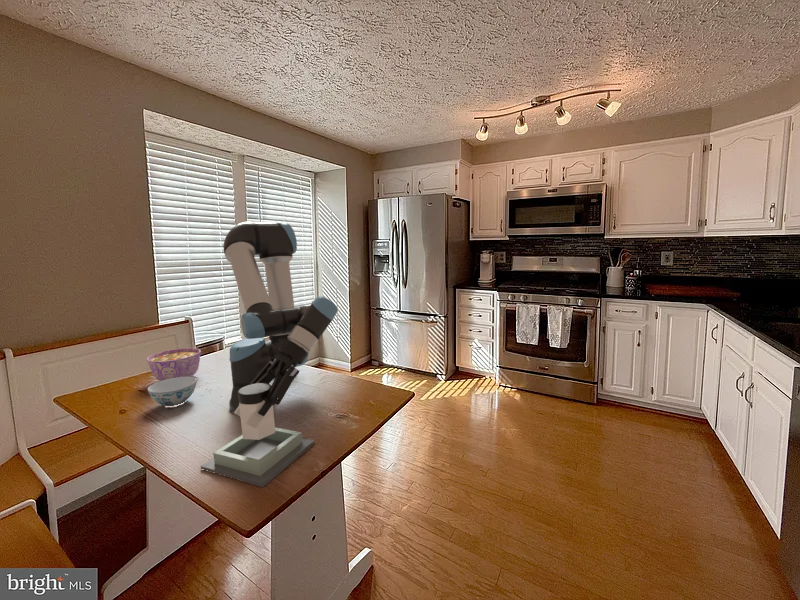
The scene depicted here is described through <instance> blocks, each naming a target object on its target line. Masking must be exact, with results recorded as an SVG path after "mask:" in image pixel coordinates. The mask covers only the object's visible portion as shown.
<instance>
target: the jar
mask: <svg viewBox="0 0 800 600" xmlns="http://www.w3.org/2000/svg"><path fill="white" fill-rule="evenodd" d="M271 385H272V384H270V383H269V384H267V383H256V384H251V385H247V386H245V387H243V388H241V389H240V390H239V391H238V398H239V409H240V416H239V417H240V424H241V425H240V426H241V435H242V436H243V439H251V440H260V439H262V438H265V437H267V436H269V435H271V434H274V433H275V427H276V421H275V420H276V419H275V412H274V411H275V409H274V405H272V406H271V407H270V409H269V410H268V412H267V413H266V415H265V416H264V417H263V419H262V420H261V421H260V423H259V424H258V426H257V427H256V429H255V428H253V427H251V426H249V425H247V424H246V422H247V421H248V419H249V418H250V416H251V415H252V414H253V412H255V411H256V410H257V408H258V407H259V405H260V404H261V402H262V401H263V398H266V396H267V394H268V392H269V390H270V388H271Z"/></svg>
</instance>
